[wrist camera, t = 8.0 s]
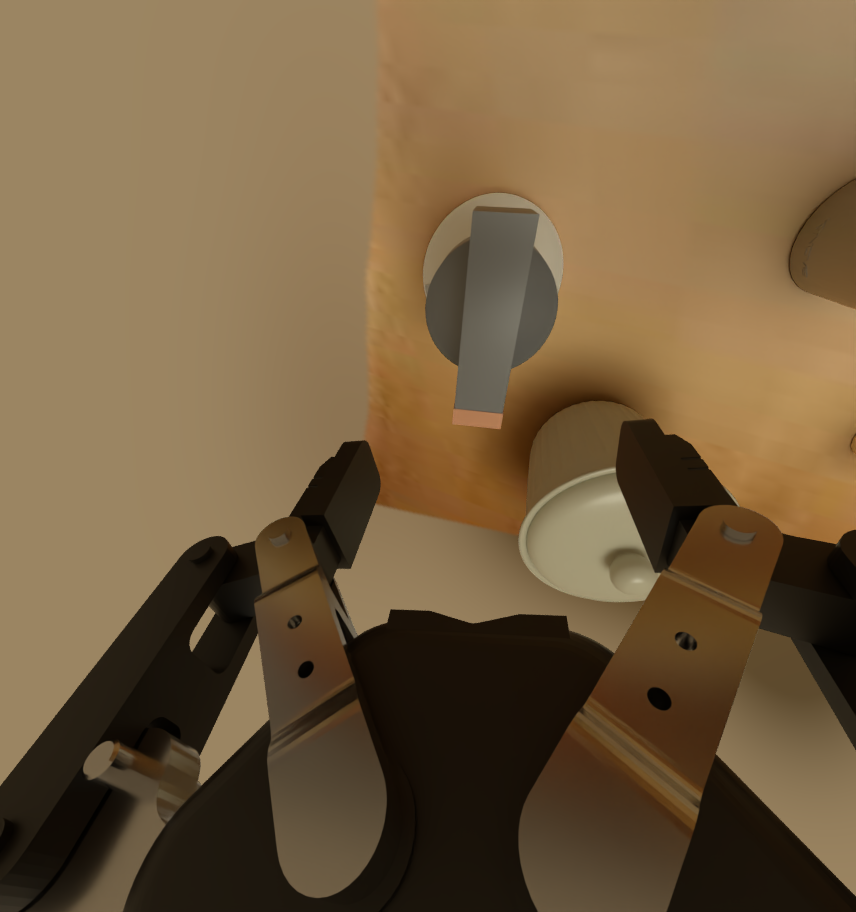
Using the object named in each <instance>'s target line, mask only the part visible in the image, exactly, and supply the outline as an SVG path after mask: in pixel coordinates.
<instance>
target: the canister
mask: <svg viewBox="0 0 856 912" xmlns="http://www.w3.org/2000/svg"><path fill="white" fill-rule="evenodd" d="M642 419H645V418H644V417H643V416H642V415H640V414H639V413H637V412H636V411H635V410H633V409H631V408H628V407H626V406H624V405H622V404H616V403H614V402H605V401H602V400H601V401H590V402H581V403H580V404H576V405H572V406H570V407H568V408H564V409H563V410H562V411H560V412H557V413H556V414H555V415H554V416H553V417H551V418H549V419H548V421H547V422H546V423H544V424H543V426H542V428H541V429H540V430H539V431H538V433H537V435H536V437H535V439H534V441H533V445H532V448H531V452H530V461H529V472H528V484H527V503H526V516H525V518H524V520H523V522H522V524H521V527H520V531H519V537H518V541H519V542H518V543H519V550H520V554H521V556H522V559H523V561H524V563H525V564H526V566H527V567H528V569H529V570H530V571H531V572H532V573H533V574H534V575H535V576H536V577H537V578H539V579H540V580H541V581H543V582H544V583H546V584H547V585H549V586H551V587H553V588H555V589H557V590H559V591H562V592H564V593H567V594H570V595H573V596H577V597H582V598H587V599H592V600H598V601H607V602H632V601H642V600H646V598H647V596H648V594H649V593H650V591H651V589H652V588H653V586H654V584H655V582H656V581H657V579H658V577H659V576H660V574H661V573H655V572H654V570H653V567H652V565H651V562H650V560H649V558H648V555H647V553H646V550H645V548H644V545H643V543H642V541H641V538H640V536H639V533H638V531H637V528H636V526H635V523H634V521H633V519H632V516H631V514H630V511H629V509H628V506H627V504H626V502H625V499H624V497H623V494H622V492H621V489H620V487H619V485H618V482H617V477H616V458H617V451H618V444H619V436H620V429H621V425H622V423H623V421H629V420H642ZM722 486H723V485H722ZM723 487H724V486H723ZM724 488H725V487H724ZM725 490H726V491H727V492H728V494H729V495H730V496H731V498H732V499H733V500H734V502H735V503H736V504H737V506H738V507H740V506H739V504H738V503H737V501H736V499H735V498H734V497H733V495H732V494H731V493H730V492H729V491H728V490H727V489H726V488H725Z"/></svg>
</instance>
